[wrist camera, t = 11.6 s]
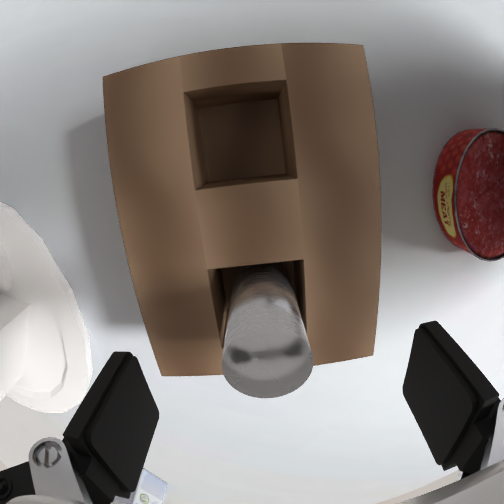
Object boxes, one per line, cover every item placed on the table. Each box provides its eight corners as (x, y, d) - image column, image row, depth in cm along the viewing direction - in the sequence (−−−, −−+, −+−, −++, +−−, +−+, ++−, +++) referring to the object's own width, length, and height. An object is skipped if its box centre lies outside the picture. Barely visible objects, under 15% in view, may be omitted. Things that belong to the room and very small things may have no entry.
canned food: (419, 135, 22) (484, 67, 12) (495, 183, 22) (563, 142, 12) (405, 257, 19) (507, 218, 10) (490, 296, 19) (580, 281, 10)
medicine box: (132, 488, 31) (120, 533, 22) (109, 473, 29) (93, 519, 21) (168, 482, 29) (158, 535, 21) (143, 466, 28) (127, 521, 20)
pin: (284, 245, 18) (313, 323, 9) (288, 293, 19) (312, 392, 10) (231, 250, 18) (214, 333, 10) (237, 298, 19) (229, 400, 11)
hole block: (331, 75, 16) (362, 45, 11) (345, 307, 21) (373, 355, 15) (144, 97, 17) (102, 76, 11) (181, 323, 21) (161, 376, 16)
